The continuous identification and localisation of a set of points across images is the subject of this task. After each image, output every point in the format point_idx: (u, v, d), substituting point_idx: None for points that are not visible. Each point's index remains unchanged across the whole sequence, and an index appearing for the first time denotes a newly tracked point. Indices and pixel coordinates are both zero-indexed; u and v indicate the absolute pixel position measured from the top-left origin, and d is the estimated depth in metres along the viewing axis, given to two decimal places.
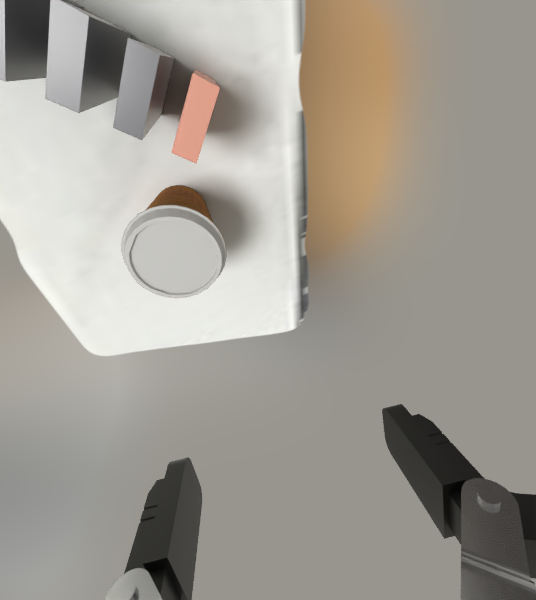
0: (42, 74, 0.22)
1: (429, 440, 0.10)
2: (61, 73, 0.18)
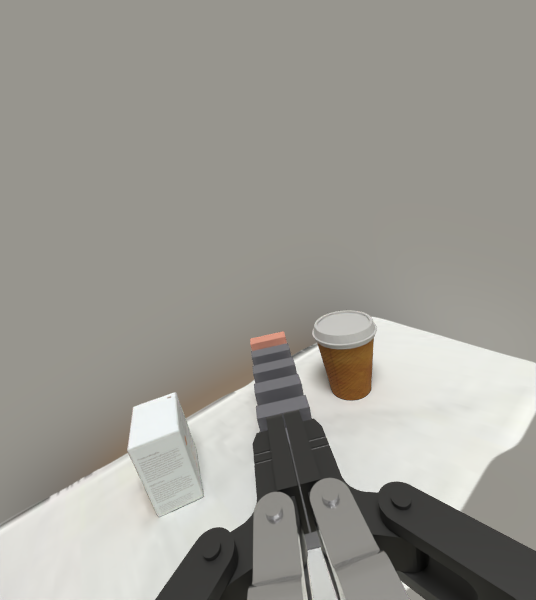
0: None
1: (307, 443, 0.11)
2: (279, 364, 0.36)
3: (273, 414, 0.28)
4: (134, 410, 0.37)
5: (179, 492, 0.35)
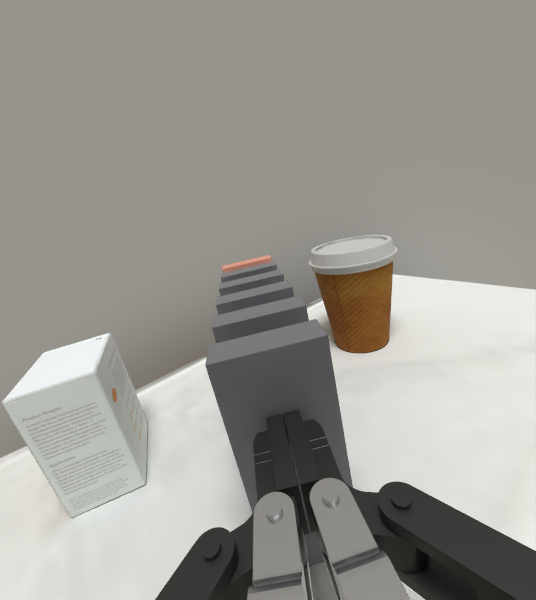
0: None
1: (307, 443, 0.11)
2: (260, 277, 0.24)
3: (241, 320, 0.16)
4: (42, 356, 0.25)
5: (104, 477, 0.22)
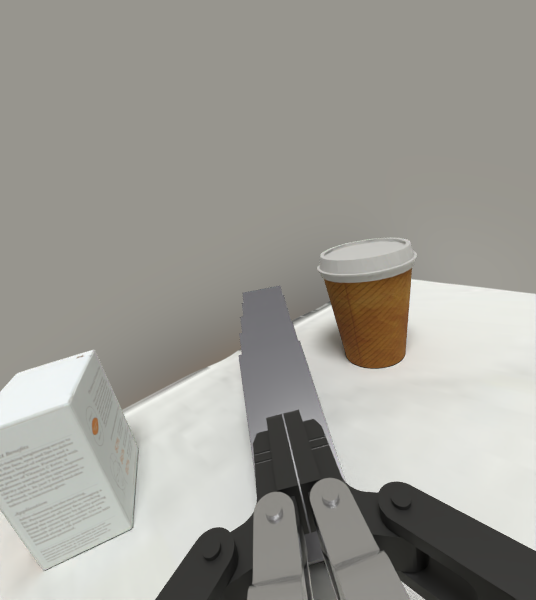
0: None
1: (307, 443, 0.11)
2: None
3: (255, 330, 0.28)
4: (14, 378, 0.21)
5: (82, 523, 0.19)
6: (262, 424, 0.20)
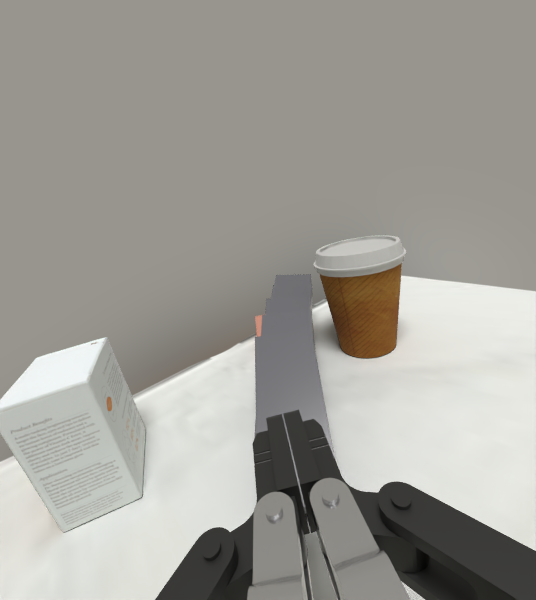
0: None
1: (307, 443, 0.11)
2: None
3: (276, 313, 0.31)
4: (35, 361, 0.24)
5: (98, 490, 0.21)
6: (267, 396, 0.23)
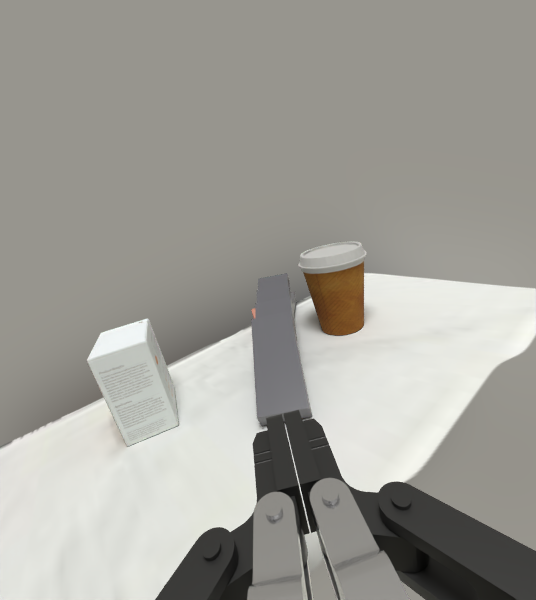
0: None
1: (307, 443, 0.11)
2: None
3: (266, 301, 0.42)
4: (101, 334, 0.34)
5: (150, 417, 0.31)
6: (261, 354, 0.33)
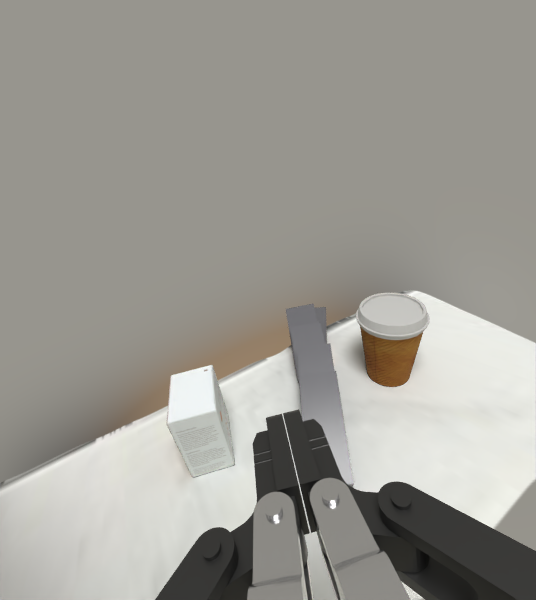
0: None
1: (307, 443, 0.11)
2: None
3: None
4: (172, 379, 0.38)
5: (213, 460, 0.37)
6: (309, 417, 0.37)
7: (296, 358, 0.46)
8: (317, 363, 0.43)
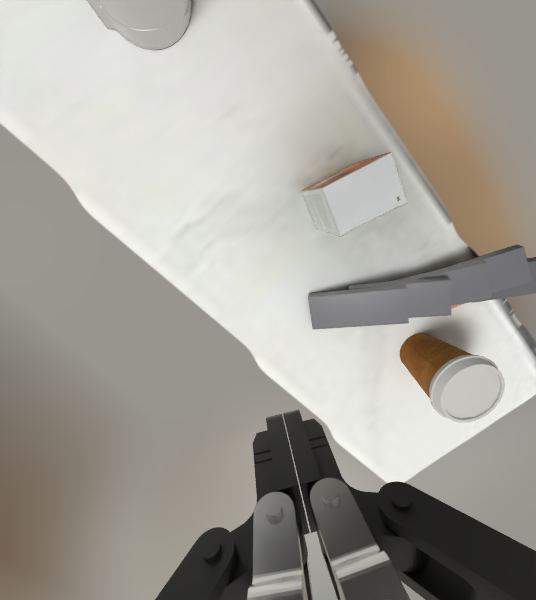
0: None
1: (307, 443, 0.11)
2: None
3: None
4: (384, 158, 0.30)
5: (313, 214, 0.39)
6: (361, 299, 0.41)
7: (439, 275, 0.41)
8: (425, 301, 0.41)
